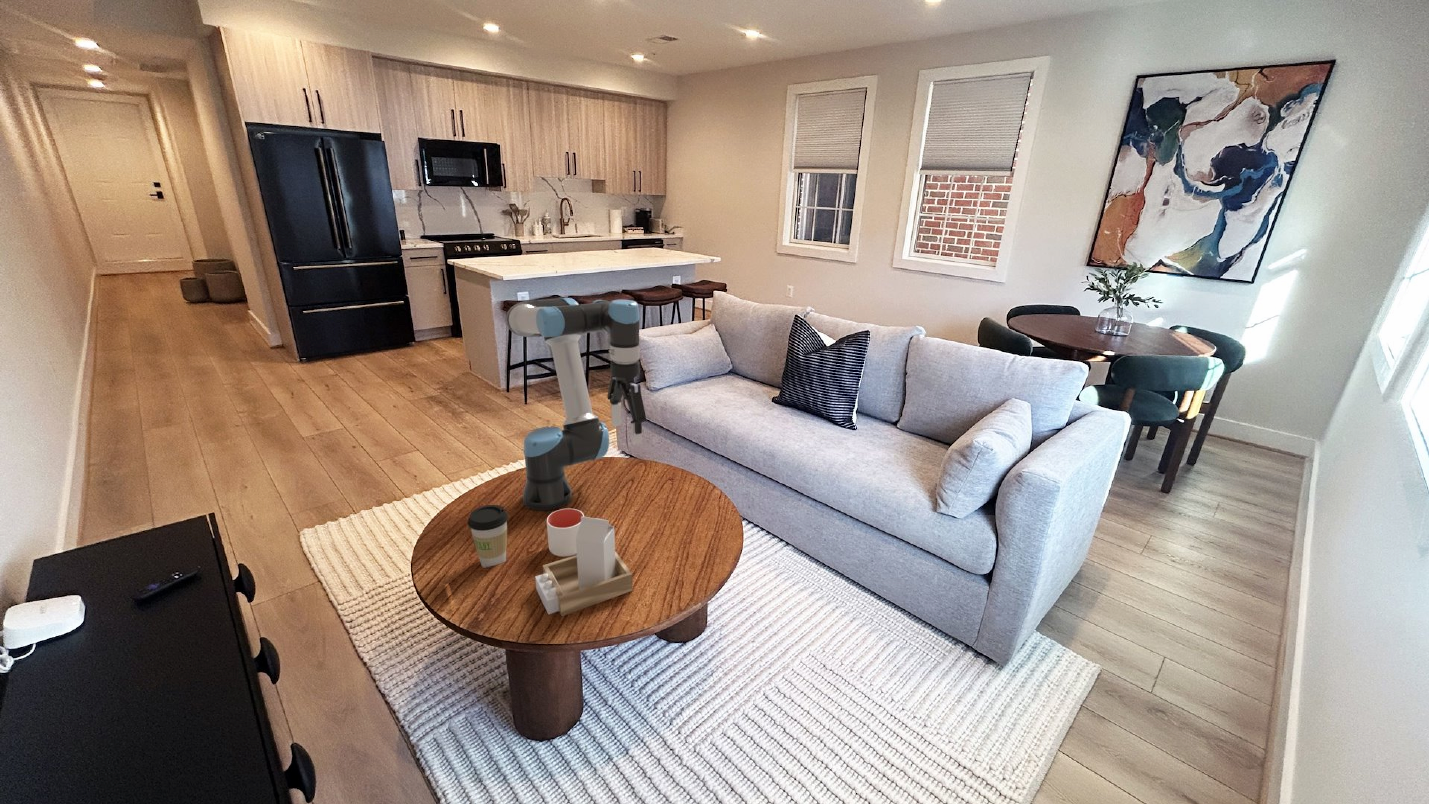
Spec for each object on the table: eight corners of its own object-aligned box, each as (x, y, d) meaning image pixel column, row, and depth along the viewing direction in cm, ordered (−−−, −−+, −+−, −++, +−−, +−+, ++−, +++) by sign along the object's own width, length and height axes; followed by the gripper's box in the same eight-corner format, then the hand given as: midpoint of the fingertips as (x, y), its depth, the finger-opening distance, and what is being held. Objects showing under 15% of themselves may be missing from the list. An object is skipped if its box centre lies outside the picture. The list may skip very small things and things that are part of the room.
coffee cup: (473, 554, 151) (466, 507, 145) (511, 547, 154) (506, 500, 149) (474, 576, 142) (467, 527, 137) (514, 568, 146) (509, 519, 141)
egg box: (536, 589, 137) (534, 572, 135) (552, 584, 139) (551, 567, 137) (548, 614, 129) (546, 596, 127) (565, 608, 131) (563, 590, 129)
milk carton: (605, 594, 136) (602, 528, 130) (578, 589, 138) (574, 524, 131) (616, 576, 143) (614, 513, 136) (590, 571, 144) (587, 508, 137)
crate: (544, 585, 140) (542, 565, 138) (611, 563, 149) (610, 544, 147) (561, 619, 129) (560, 598, 127) (632, 593, 139) (632, 574, 136)
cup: (592, 542, 158) (591, 512, 154) (573, 563, 149) (571, 531, 145) (562, 535, 161) (560, 505, 157) (541, 554, 152) (539, 523, 148)
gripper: (593, 350, 152) (596, 421, 160) (631, 375, 133) (632, 455, 140) (619, 347, 156) (620, 416, 164) (659, 371, 137) (659, 449, 144)
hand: (626, 434), depth 152 cm, fingers open, 13 cm apart
